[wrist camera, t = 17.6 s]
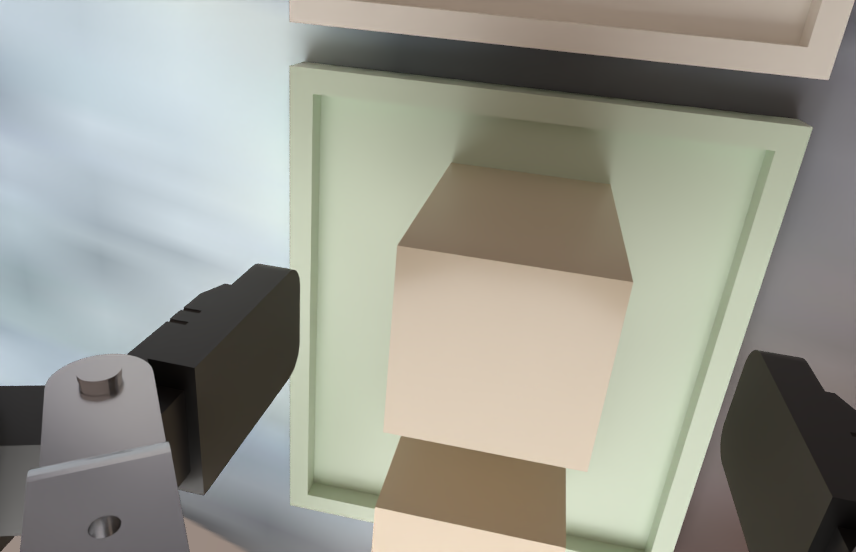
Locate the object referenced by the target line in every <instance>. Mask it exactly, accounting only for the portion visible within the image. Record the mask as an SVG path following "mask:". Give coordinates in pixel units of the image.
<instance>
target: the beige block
mask: <svg viewBox="0 0 856 552" xmlns="http://www.w3.org/2000/svg"><path fill="white" fill-rule="evenodd" d="M632 286H633V279H632V274H631V270H630V266H629V262H628V257H627V253H626V249H625V244H624V240H623V236H622V231H621V227H620V223H619V219H618V214H617V210H616V206H615V201H614V197H613V193H612V189H611V184H605V183H597V182H590V181H583V180H575V179H568V178H561V177H554V176H546V175H539V174H532V173H524V172H517V171H510V170H502V169H495V168H488V167H480V166H473V165H466V164H458V163H450V165H449V167H448V168H447V170H446V171H445V173H444V174H443V176H442V177H441V179H440V180H439V182H438V183H437V185H436V187H435V188H434V190H433V191H432V193H431V194H430V196H429V197H428V199H427V200H426V202H425V203H424V205H423V207H422V208H421V210H420V211H419V213H418V214H417V216H416V217H415V219H414V220H413V222H412V223H411V225H410V227H409V228H408V230H407V231H406V233H405V234H404V236H403V237H402V239H401V240H400V242H399V243H398V245H397V254H396V267H395V281H394V294H393V307H392V321H391V334H390V348H389V361H388V374H387V388H386V401H385V414H384V428H383V432H384V433H390V434H395V435H400V436H405V437H410V438H415V439H420V440H425V441H430V442H436V443H441V444H446V445H451V446H456V447H461V448H466V449H471V450H477V451H482V452H487V453H492V454H497V455H502V456H507V457H512V458H517V459H523V460H528V461H533V462H538V463H543V464H548V465H553V466H558V467H563V468H569V469H574V470H579V471H584V472H587V471H588V467H589V463H590V459H591V455H592V451H593V447H594V442H595V438H596V434H597V430H598V426H599V422H600V418H601V414H602V409H603V405H604V401H605V397H606V393H607V389H608V385H609V381H610V376H611V372H612V368H613V364H614V360H615V356H616V352H617V348H618V343H619V339H620V335H621V331H622V327H623V323H624V319H625V315H626V310H627V306H628V302H629V298H630V294H631V290H632Z"/></svg>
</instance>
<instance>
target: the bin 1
mask: <svg viewBox="0 0 856 552" xmlns="http://www.w3.org/2000/svg"><path fill="white" fill-rule="evenodd" d="M854 1H855V0H289V8H290V22H295V23H305V24H314V25H323V26H332V27H342V28H351V29H360V30H369V31H379V32H388V33H397V34H406V35H416V36H425V37H434V38H443V39H452V40H462V41H471V42H480V43H489V44H499V45H508V46H517V47H526V48H536V49H545V50H554V51H563V52H573V53H582V54H591V55H600V56H610V57H619V58H628V59H637V60H647V61H656V62H665V63H674V64H684V65H693V66H702V67H711V68H720V69H730V70H739V71H748V72H757V73H767V74H776V75H785V76H794V77H804V78H813V79H822V80H829V77H830V74H831V71H832V68H833V65H834V62H835V59H836V56H837V53H838V50H839V47H840V44H841V41H842V38H843V35H844V32H845V29H846V26H847V23H848V20H849V17H850V13H851V10H852V7H853V4H854Z"/></svg>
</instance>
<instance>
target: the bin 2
mask: <svg viewBox="0 0 856 552" xmlns="http://www.w3.org/2000/svg"><path fill="white" fill-rule="evenodd" d="M812 129H813V127H811V126H809V125H808V124H806V123H804V122H802V121H801V120H799V119H792V118H784V117H775V116H767V115H758V114H749V113H741V112H732V111H724V110H715V109H706V108H698V107H689V106H681V105H672V104H664V103H655V102H646V101H638V100H629V99H621V98H612V97H603V96H595V95H586V94H578V93H569V92H561V91H552V90H543V89H535V88H526V87H518V86H509V85H500V84H492V83H483V82H475V81H466V80H457V79H449V78H440V77H432V76H423V75H415V74H406V73H397V72H389V71H380V70H372V69H363V68H354V67H346V66H337V65H329V64H320V63H312V62H301V63H298V64H294V65H291V66H290V269H292V270H296V271H297V272H298V274H299V278H300V346H299V354H298V358H297V362H296V365H295V368H294V370H293V372H292V374H291V376H290V505H292V506H297V507H301V508H306V509H311V510H315V511H320V512H325V513H330V514H334V515H339V516H344V517H348V518H353V519H358V520H362V521H367V522H372V523H374V513H375V506H376V503H377V500H378V497H379V495H380V492H381V489H382V486H383V484H384V481H385V478H386V476H387V473H388V470H389V467H390V465H391V462H392V459H393V456H394V454H395V451H396V448H397V445H398V443H399V440H400V437H401V436H400V435H395V434H390V433H384V432H383V428H384V414H385V401H386V388H387V374H388V361H389V348H390V334H391V321H392V307H393V294H394V281H395V267H396V254H397V245H398V243H399V242H400V240H401V239H402V237H403V236H404V234H405V233H406V231H407V230H408V228H409V227H410V225H411V223H412V222H413V220H414V219H415V217H416V216H417V214H418V213H419V211H420V210H421V208H422V207H423V205H424V203H425V202H426V200H427V199H428V197H429V196H430V194H431V193H432V191H433V190H434V188H435V187H436V185H437V183H438V182H439V180H440V179H441V177H442V176H443V174H444V173H445V171H446V170H447V168H448V167H449V165H450V163H458V164H466V165H473V166H480V167H488V168H495V169H502V170H510V171H517V172H524V173H532V174H539V175H546V176H554V177H561V178H568V179H575V180H583V181H590V182H597V183H605V184H611V189H612V193H613V197H614V201H615V206H616V210H617V214H618V219H619V223H620V227H621V231H622V236H623V240H624V244H625V249H626V253H627V257H628V262H629V266H630V270H631V274H632V279H633V286H632V290H631V294H630V298H629V302H628V306H627V310H626V315H625V319H624V323H623V327H622V331H621V335H620V339H619V343H618V348H617V352H616V356H615V360H614V364H613V368H612V372H611V376H610V381H609V385H608V389H607V393H606V397H605V401H604V405H603V409H602V414H601V418H600V422H599V426H598V430H597V434H596V438H595V442H594V447H593V451H592V455H591V459H590V463H589V467H588V471H587V472H584V471H579V470H574V469H569V468H566V550H565V552H673V551H674V548H675V545H676V542H677V539H678V536H679V533H680V530H681V527H682V524H683V521H684V517H685V514H686V511H687V508H688V505H689V502H690V499H691V496H692V493H693V490H694V487H695V484H696V481H697V478H698V475H699V472H700V469H701V466H702V463H703V460H704V457H705V454H706V451H707V448H708V445H709V442H710V439H711V435H712V432H713V429H714V426H715V423H716V420H717V417H718V414H719V411H720V408H721V405H722V402H723V399H724V396H725V393H726V390H727V387H728V384H729V381H730V378H731V375H732V372H733V369H734V366H735V363H736V360H737V357H738V354H739V350H740V347H741V344H742V341H743V338H744V335H745V332H746V329H747V326H748V323H749V320H750V317H751V314H752V311H753V308H754V305H755V302H756V299H757V296H758V293H759V290H760V287H761V284H762V281H763V278H764V275H765V272H766V269H767V265H768V262H769V259H770V256H771V253H772V250H773V247H774V244H775V241H776V238H777V235H778V232H779V229H780V226H781V223H782V220H783V217H784V214H785V211H786V208H787V205H788V202H789V199H790V196H791V193H792V190H793V187H794V184H795V180H796V177H797V174H798V171H799V168H800V165H801V162H802V159H803V156H804V153H805V150H806V147H807V144H808V141H809V138H810V135H811V132H812Z"/></svg>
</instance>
